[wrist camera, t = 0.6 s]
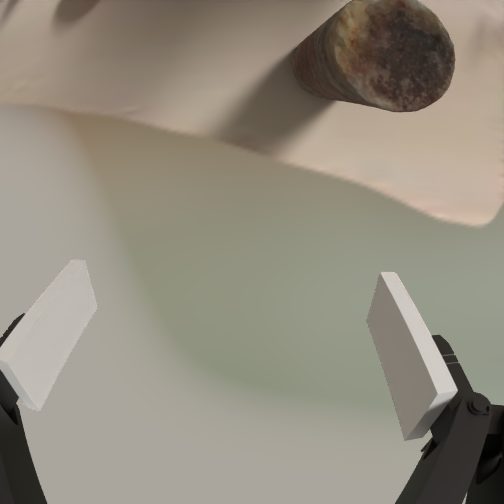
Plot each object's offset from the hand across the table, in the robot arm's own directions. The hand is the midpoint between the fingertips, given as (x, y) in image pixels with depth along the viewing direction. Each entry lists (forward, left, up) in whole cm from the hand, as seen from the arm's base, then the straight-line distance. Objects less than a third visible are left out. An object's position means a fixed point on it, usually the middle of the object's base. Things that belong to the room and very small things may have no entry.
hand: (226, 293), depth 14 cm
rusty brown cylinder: (-13, +5, -25) cm, 29 cm away
